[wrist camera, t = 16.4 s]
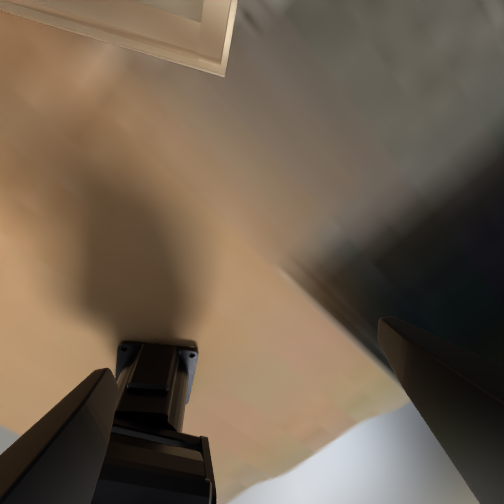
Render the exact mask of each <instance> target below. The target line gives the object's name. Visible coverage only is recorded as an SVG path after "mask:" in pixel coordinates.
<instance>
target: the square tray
mask: <svg viewBox="0 0 504 504" xmlns="http://www.w3.org/2000/svg"><path fill="white" fill-rule="evenodd" d="M237 2H238V0H0V11H3V12H6V13H10V14H13V15H17V16H20V17H23V18H27V19H30V20H33V21H37V22H40V23H44V24H47V25H50V26H54V27H57V28H60V29H64V30H67V31H70V32H74V33H77V34H81V35H84V36H87V37H91V38H94V39H97V40H101V41H104V42H107V43H111V44H114V45H118V46H121V47H124V48H128V49H131V50H134V51H138V52H141V53H145V54H148V55H151V56H155V57H158V58H161V59H165V60H168V61H171V62H175V63H178V64H182V65H185V66H188V67H192V68H195V69H198V70H202V71H205V72H208V73H212V74H215V75H219V76H222V77H225V72H226V67H227V61H228V55H229V49H230V43H231V37H232V32H233V26H234V20H235V14H236V8H237Z"/></svg>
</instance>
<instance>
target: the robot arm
mask: <svg viewBox="0 0 504 504" xmlns="http://www.w3.org/2000/svg"><path fill="white" fill-rule="evenodd" d="M378 342H379V344H380V346H381V348H382V350H383V352H384V354H385V356H386V357H387V359H388V361H389V363H390V365H391V367H392V369H393V371H394V373H395V374H396V376H397V378H398V380H399V382H400V384H401V385H402V387H403V389H404V390H405V392H406V393H407V395H408V396H409V398H410V399H411V401H412V402H413V404H414V405H415V407H416V408H417V410H418V411H419V413H420V414H421V416H422V417H423V419H424V420H425V422H426V423H427V425H428V426H429V428H430V429H431V431H432V433H433V434H434V436H435V437H436V439H437V440H438V442H439V443H440V444H441V446H442V448H443V449H444V451H445V452H446V454H447V455H448V456H449V458H450V459H451V461H452V462H453V464H454V466H455V467H456V469H457V470H458V471H459V473H460V475H461V476H462V477H463V479H464V481H465V482H466V484H467V485H468V487H469V488H470V490H471V491H472V493H473V494H474V495H475V497H476V498H477V500H478V502H479V503H480V504H504V367H503V366H501V365H499V364H496V363H494V362H492V361H490V360H488V359H485V358H483V357H481V356H479V355H477V354H474V353H472V352H470V351H468V350H466V349H464V348H461V347H459V346H457V345H455V344H453V343H450V342H448V341H446V340H444V339H442V338H440V337H437V336H435V335H433V334H431V333H429V332H426V331H424V330H422V329H420V328H418V327H415V326H413V325H411V324H409V323H407V322H405V321H402V320H400V319H398V318H396V317H393V316H388V317H382V318H380V319H379V324H378ZM124 347H127V348H124ZM191 353H193V355H192V354H191ZM197 358H198V350H197V349H196V348H190V347H181V346H171V345H161V344H152V343H142V342H133V341H122V342H121V343H120V344H119V346H118V351H117V365H116V380H115V378H114V376H113V374H112V371H111V370H110V369H109V368H103V369H97V370H95V371H93V372H92V373H91V374H90V375H89V376H88V377H87V378H86V379H84V380H83V381H82V382H81V383H80V384H79V385H78V386H77V387H76V388H74V389H73V390H72V391H71V392H70V393H69V394H68V395H67V396H65V397H64V398H63V399H62V400H61V401H60V402H59V403H58V404H57V405H55V406H54V407H53V408H52V409H51V410H50V411H49V412H48V413H47V414H45V415H44V416H43V417H42V418H41V419H40V420H39V421H38V422H37V423H35V424H34V425H33V426H32V427H31V428H30V429H29V430H28V431H27V432H25V433H24V434H23V435H22V436H21V437H20V438H19V439H18V440H17V441H15V442H14V443H13V444H12V445H11V446H10V447H9V448H8V449H7V450H6V451H4V452H3V453H2V454H1V455H0V504H216V487H215V480H214V474H213V468H212V461H211V455H210V449H209V442H208V437H204V436H200V437H197V436H193V435H189V434H185V433H182V427H183V419H184V411H185V405H186V404H187V403H188V402H189V397H190V392H191V387H192V383H193V378H194V373H195V368H196V363H197Z"/></svg>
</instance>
